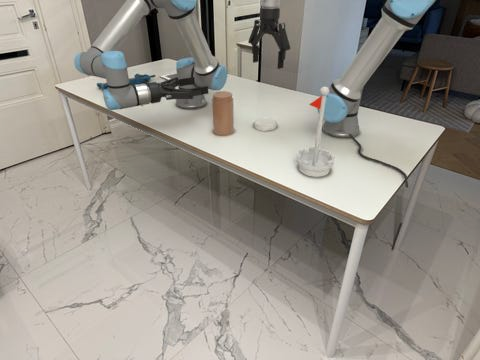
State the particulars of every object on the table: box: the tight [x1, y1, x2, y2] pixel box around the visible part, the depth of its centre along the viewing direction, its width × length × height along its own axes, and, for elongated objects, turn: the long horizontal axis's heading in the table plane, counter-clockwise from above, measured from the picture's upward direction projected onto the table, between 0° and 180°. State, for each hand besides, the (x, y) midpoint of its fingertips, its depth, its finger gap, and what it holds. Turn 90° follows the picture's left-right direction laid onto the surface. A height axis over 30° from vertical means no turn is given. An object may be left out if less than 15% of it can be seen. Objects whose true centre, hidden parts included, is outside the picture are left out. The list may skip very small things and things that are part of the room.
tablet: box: [159, 71, 177, 80], centre depth 214 cm, size 32×20×1 cm, turn 41°
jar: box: [211, 90, 235, 136], centre depth 145 cm, size 9×9×17 cm
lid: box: [253, 116, 277, 132], centre depth 154 cm, size 10×10×2 cm
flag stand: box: [296, 86, 335, 178], centre depth 114 cm, size 13×13×30 cm
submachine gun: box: [96, 73, 156, 91], centre depth 208 cm, size 34×4×25 cm
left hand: (200, 84), depth 134 cm, fingers open, 13 cm apart
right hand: (267, 65), depth 139 cm, fingers open, 13 cm apart
